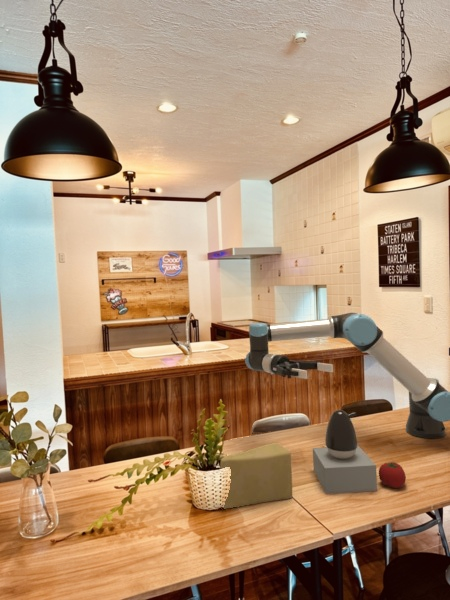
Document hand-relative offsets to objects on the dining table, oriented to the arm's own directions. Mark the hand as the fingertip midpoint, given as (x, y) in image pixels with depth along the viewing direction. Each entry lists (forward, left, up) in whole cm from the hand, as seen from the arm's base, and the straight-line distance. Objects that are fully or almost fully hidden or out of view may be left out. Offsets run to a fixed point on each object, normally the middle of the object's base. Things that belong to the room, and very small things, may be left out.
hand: (320, 371), depth 135 cm
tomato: (-19, +11, -35) cm, 41 cm away
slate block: (-5, +6, -35) cm, 36 cm away
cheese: (+26, +15, -35) cm, 46 cm away
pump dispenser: (-4, +6, -27) cm, 28 cm away
